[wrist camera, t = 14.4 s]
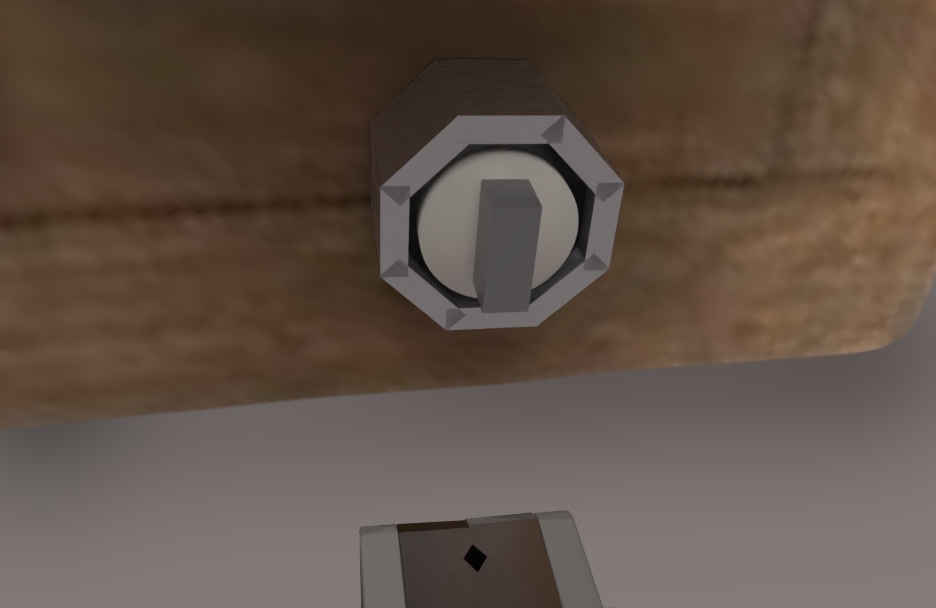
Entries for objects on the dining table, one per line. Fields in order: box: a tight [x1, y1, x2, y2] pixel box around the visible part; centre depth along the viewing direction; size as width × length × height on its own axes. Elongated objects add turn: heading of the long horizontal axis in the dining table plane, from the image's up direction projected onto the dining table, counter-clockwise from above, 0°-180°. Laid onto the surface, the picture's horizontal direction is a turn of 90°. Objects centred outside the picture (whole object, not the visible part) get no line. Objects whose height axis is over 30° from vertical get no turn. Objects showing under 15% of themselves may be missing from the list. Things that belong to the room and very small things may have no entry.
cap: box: [416, 145, 579, 313], centre depth 35 cm, size 7×7×4 cm
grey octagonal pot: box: [369, 58, 625, 330], centre depth 39 cm, size 10×10×7 cm
